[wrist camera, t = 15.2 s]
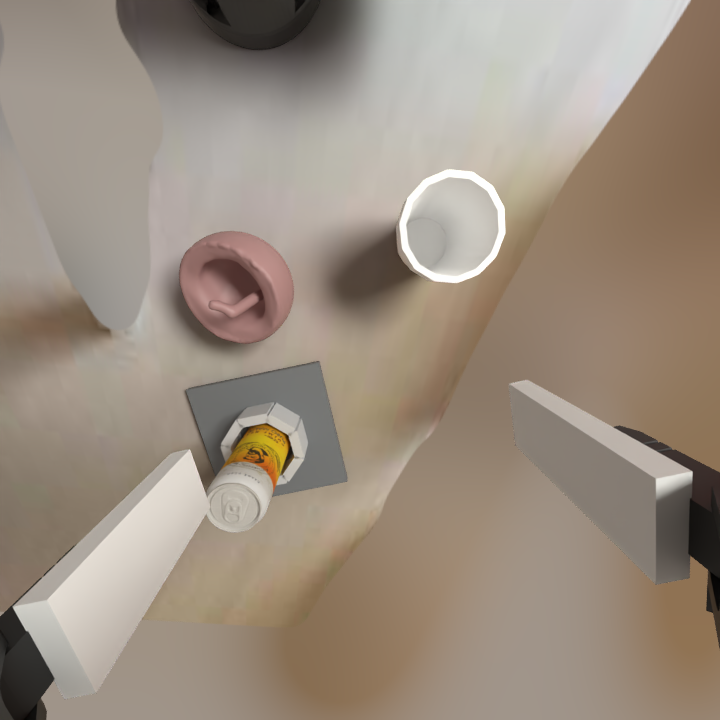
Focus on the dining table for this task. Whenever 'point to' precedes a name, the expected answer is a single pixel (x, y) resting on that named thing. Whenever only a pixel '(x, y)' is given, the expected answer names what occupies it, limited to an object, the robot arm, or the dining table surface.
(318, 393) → the socket
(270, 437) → the beer can
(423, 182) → the foam cup
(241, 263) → the mortar and pestle
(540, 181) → the dining table surface
